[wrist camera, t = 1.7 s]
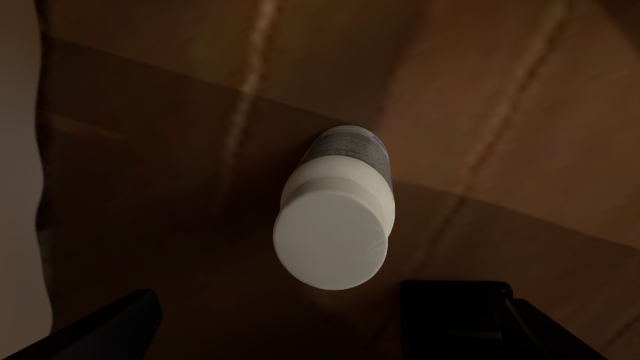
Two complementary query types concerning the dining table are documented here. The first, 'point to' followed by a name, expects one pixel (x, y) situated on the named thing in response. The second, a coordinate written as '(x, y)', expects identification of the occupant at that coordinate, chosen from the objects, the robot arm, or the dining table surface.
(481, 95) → the dining table surface
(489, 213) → the dining table surface
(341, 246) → the pill bottle
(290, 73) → the dining table surface
